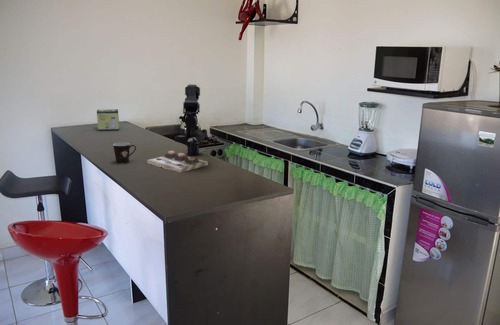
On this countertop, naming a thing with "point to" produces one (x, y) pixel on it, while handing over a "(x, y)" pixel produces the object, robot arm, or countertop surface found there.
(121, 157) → the coffee mug
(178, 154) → the middle button
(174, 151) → the button
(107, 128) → the protein box
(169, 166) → the button board
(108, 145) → the countertop surface
